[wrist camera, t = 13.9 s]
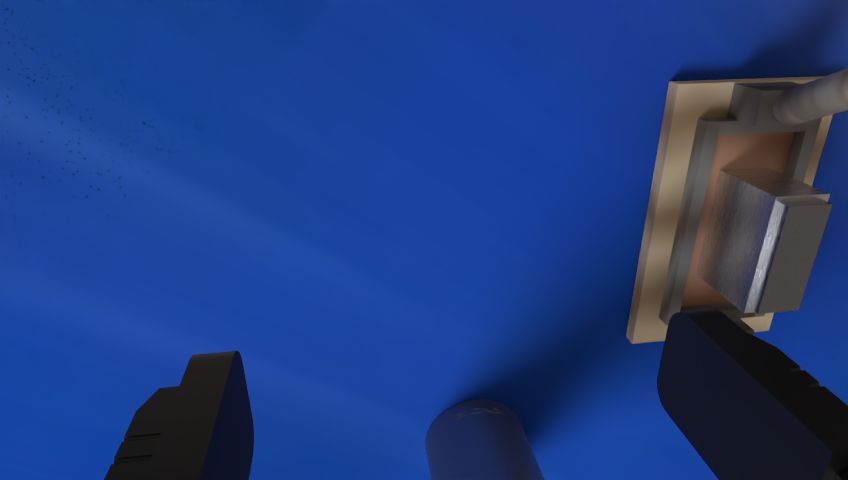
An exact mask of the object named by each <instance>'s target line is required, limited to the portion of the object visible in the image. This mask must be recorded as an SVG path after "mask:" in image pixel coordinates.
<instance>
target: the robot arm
mask: <svg viewBox="0 0 848 480" xmlns="http://www.w3.org/2000/svg"><path fill="white" fill-rule="evenodd" d="M657 389H658V394H659V398H660V401H661V403H662V406H663V407H664V409H665V411H666V412H667V414H668V415H669V416H670V417H671V419H672V420H673V421H674V423H675V424H676V425H677V426H678V428H679V429H680V430H681V432H682V433H683V434H684V436H685V437H686V438H687V439H688V441H689V442H690V443H691V445H692V446H693V447H694V448H695V450H696V451H697V452H698V454H699V455H700V456H701V457H702V459H703V460H704V461H705V463H706V464H707V465H708V466H709V468H710V469H711V470H712V472H713V473H714V474H715V476H716V477H717V478H718V479H719V480H848V406H847V405H846V404H845V403H844V402H843V401H841V400H840V399H839V398H838V397H837V396H835V395H834V394H833V393H832V392H830V391H829V390H828V389H827V388H826V387H824V386H823V387H820V385H819V382H818V381H817V380H816V379H815V378H813V377H812V376H811V375H810V374H809V373H807V372H806V371H805V370H802V371H801V370H800V366H799V365H798V364H796V363H795V362H794V361H793V360H791V359H790V358H789V357H788V356H787V355H785V354H784V353H783V352H782V351H780V350H779V349H778V348H777V347H775V346H773V345H771V344H769V343H767V342H765V341H763V340H761V339H759V338H757V337H755V336H753V335H751V334H749V333H746V332H745V331H744V330H743V329H741V328H740V327H739V326H738V325H737V324H736V323H734V322H733V321H732V320H731V319H730V318H728V317H727V316H726V315H725V314H724V313H722V312H721V311H719V310H716V309H710V310H699V311H688V312H677V313H675V314H674V315H672V317H671V318H670V320H669V324H668V328H667V333H666V338H665V343H664V348H663V352H662V357H661V362H660V367H659V372H658V377H657ZM124 438H125V440H124V442H122V443H121V445H120V447H119V449H118V451H117V453H116V456H115V458H114V464H111V466H110V468H109V471H108V473H107V475H106V477H105V479H104V480H249V474H250V469H251V463H252V457H253V447H254V429H253V419H252V413H251V407H250V402H249V396H248V391H247V385H246V380H245V374H244V368H243V363H242V358H241V355H240V353H239V352H238V351H232V352H221V353H209V354H198V355H193V356H192V357H191V358H190V360H189V363H188V365H187V368H186V370H185V373H184V376H183V378H182V381H181V383H180V386H177V387H166V388H159V389H158V390H157V391H156V392H155V393H154V394H153V395H152V396H151V397H150V398H149V399H148V400H147V401H146V402H145V403H144V404H143V405H142V406H141V407H140V408H139V409H138V410H137V411H136V413H135V415H134V417H133V419H132V422H131V424H130V426H129V428H128V430H127V432H126V434H125V436H124ZM425 449H426V454H427V459H428V464H429V470H430V475H431V480H544V477H543V475H542V473H541V470H540V468H539V465H538V463H537V461H536V458H535V456H534V454H533V451H532V449H531V446H530V444H529V441H528V439H527V437H526V434H525V432H524V430H523V427H522V425H521V422H520V420H519V418H518V416H517V414H516V413H515V412H514V411H513V410H512V409H511V408H509V407H508V406H506V405H505V404H503V403H500V402H497V401H494V400H488V399H475V400H469V401H464V402H462V403H459V404H456V405H454V406H452V407H450V408H449V409H447V410H445V411H444V412H443V413H441V414H440V415H439V416H438V417H437V418H436V419H435V420H434V422H433V423H432V424H431V426H430V428H429V430H428V431H427V435H426V439H425Z"/></svg>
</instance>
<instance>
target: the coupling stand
mask: <svg viewBox="0 0 848 480" xmlns="http://www.w3.org/2000/svg"><path fill="white" fill-rule="evenodd" d="M847 110H848V68H847V69H844V70H841V71H838V72H835V73H833V74H830V75H827V76H814V77H785V78H756V79H726V80H697V81H669V86H668V92H667V97H666V103H665V109H664V115H663V121H662V127H661V133H660V138H659V144H658V150H657V156H656V162H655V168H654V174H653V179H652V185H651V191H650V197H649V203H648V209H647V215H646V220H645V226H644V232H643V238H642V244H641V250H640V256H639V261H638V267H637V273H636V279H635V285H634V291H633V297H632V302H631V308H630V314H629V320H628V326H627V332H626V337H627V338H628V339H629V341H630V342H631V343H632V344H636V343H647V342H657V341H665V338H666V333H667V328H668V324H669V320H670V318H671V317H672V315H674V314H675V313H677V312H688V311H699V310H710V309H716V310H719V311H721V312H722V313H724V314H725V315H726V316H727V317H728V318H730V319H731V320H732V321H733V322H734V323H736V324H737V325H738V326H739V327H740V328H741V329H743V330H744V331H745V332H746V333H749V334H751V335H753V333H754V332H760V331H769V328H770V325H771V321H772V318H773V314H774V313H763V314H757V313H756V312H753V313H743V312H742V311H741V310H739V309H738V308H737V307H736V306H734V305H733V304H732V303H731V302H729V301H728V300H727V299H726V298H724V297H723V296H722V295H721V294H719V293H718V292H717V291H716V290H714V289H713V288H712V287H711V286H709V285H708V284H707V283H706V282H704V281H703V280H702V279H701V278H700V277H698V276H697V275H696V273H697V268H698V264H699V259H700V255H701V250H702V246H703V242H704V237H705V233H706V228H707V224H708V219H709V215H710V211H711V206H712V202H713V197H714V193H715V188H716V184H717V179H718V175H719V171H720V170H729V169H748V168H767V167H768V168H770V169H772V170H775V171H777V172H780V173H782V174H784V175H787V176H789V177H791V178H794V179H796V180H799V181H801V182H803V183H806V184H808V185H810V186H812V184H813V180H814V177H815V173H816V170H817V167H818V163H819V160H820V157H821V153H822V150H823V147H824V143H825V140H826V137H827V133H828V130H829V126H830V123H831V120H832V116H833V114H836V113H839V112H843V111H847Z"/></svg>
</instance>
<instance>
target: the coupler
mask: <svg viewBox="0 0 848 480" xmlns="http://www.w3.org/2000/svg"><path fill="white" fill-rule="evenodd" d="M829 196H830V194H829V193H827V192H825V191H822V190H820V189H818V188H815V187H813V186H810V185H808V184H806V183H803V182H801V181H799V180H796V179H794V178H791V177H789V176H787V175H784V174H782V173H780V172H777V171H775V170H772V169H770V168H768V167H767V168H748V169H729V170H720V171H719V175H718V179H717V184H716V188H715V193H714V197H713V202H712V206H711V211H710V215H709V219H708V224H707V228H706V233H705V237H704V242H703V246H702V250H701V255H700V259H699V264H698V268H697V273H696V275H697V276H698V277H700V278H701V279H702V280H703V281H704V282H706V283H707V284H708V285H709V286H711V287H712V288H713V289H714V290H716V291H717V292H718V293H719V294H721V295H722V296H723V297H724V298H726V299H727V300H728V301H729V302H731V303H732V304H733V305H734V306H736V307H737V308H738V309H739V310H741V311H742V312H743V313H753V312H756V313H757V314H763V313H774V312H786V311H797V310H799V307H800V304H801V301H802V298H803V295H804V291H805V288H806V285H807V282H808V279H809V276H810V273H811V270H812V267H813V264H814V260H815V257H816V254H817V251H818V248H819V245H820V242H821V239H822V236H823V233H824V229H825V226H826V223H827V220H828V217H829V214H830V211H831V208H832V205H833V204H832V203H829V202H828V199H829Z"/></svg>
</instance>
